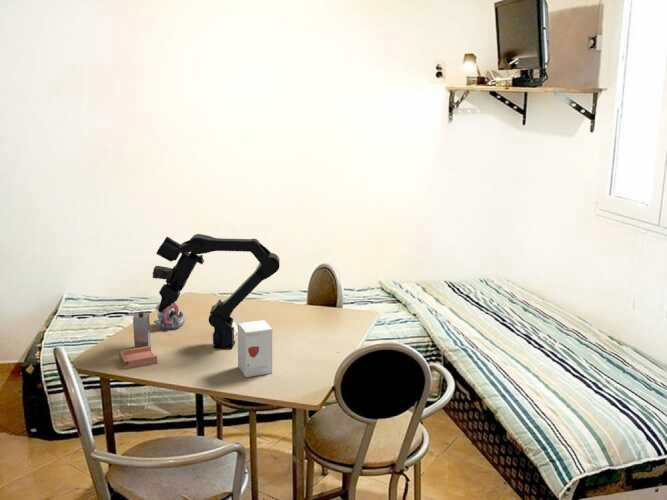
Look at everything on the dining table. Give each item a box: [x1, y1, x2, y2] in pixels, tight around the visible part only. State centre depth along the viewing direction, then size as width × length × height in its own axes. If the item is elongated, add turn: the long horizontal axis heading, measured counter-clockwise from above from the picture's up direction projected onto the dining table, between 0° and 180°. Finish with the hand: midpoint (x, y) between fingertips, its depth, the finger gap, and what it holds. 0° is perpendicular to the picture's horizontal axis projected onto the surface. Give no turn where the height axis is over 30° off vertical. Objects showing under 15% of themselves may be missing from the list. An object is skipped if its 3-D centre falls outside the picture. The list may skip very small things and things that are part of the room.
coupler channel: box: [119, 345, 158, 370], centre depth 203 cm, size 10×10×2 cm
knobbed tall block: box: [132, 311, 152, 349], centre depth 211 cm, size 4×5×13 cm
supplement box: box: [237, 319, 273, 378], centre depth 196 cm, size 9×9×15 cm
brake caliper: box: [153, 302, 186, 330], centre depth 233 cm, size 11×11×12 cm
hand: (162, 306), depth 211 cm, fingers open, 9 cm apart
